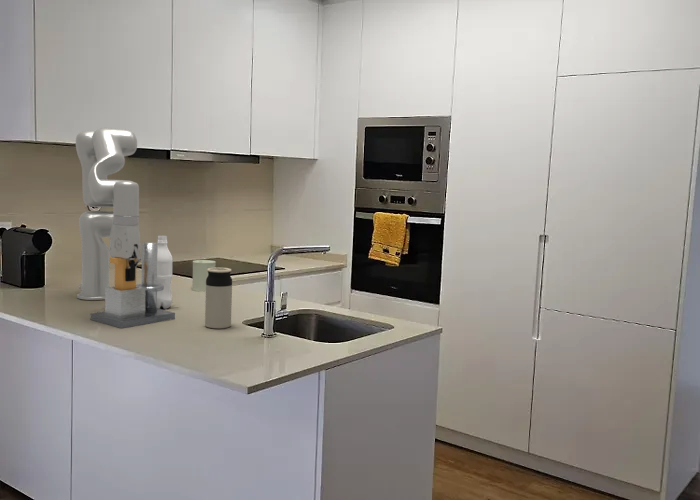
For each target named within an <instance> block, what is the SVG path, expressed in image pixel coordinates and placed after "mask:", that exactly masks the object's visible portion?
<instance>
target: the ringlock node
mask: <svg viewBox="0 0 700 500" xmlns="http://www.w3.org/2000/svg"><path fill="white" fill-rule="evenodd" d="M157 253H158V243H157V242H151V241H150V242H146V241H145V242H142V243H141V283H136V288H134V289H126V290H119V289H115V285H114V286H109V287H106V288H105V299H104V304H105V305H104V311H98V312H91V313H90V321H94V322H97V323H100V322H101V323H100V324H104V325H108V326H112V327H115V328H118V327H119V329H125V328H131V327H137V326H141V325H142V326H143V325H148V323H149V324H153V322H154V323H158V322H159V321H160V322H164V321H171V320H175V319H176V312H175V311H174V312H173V311H170V310H166V309H161V308H159V309H157V291H162V290H164V285H162V284H157ZM170 319H171V320H170Z"/></svg>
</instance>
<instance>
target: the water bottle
mask: <svg viewBox="0 0 700 500" xmlns="http://www.w3.org/2000/svg"><path fill="white" fill-rule="evenodd" d="M156 243H158V253H157V284H162V285H164V290H162V291H157V309H161V307H162V308H163V310H166V309H168V308H170V307H171V306H172V303H173V296H172V288H171V287H172V286H171V285H172V278H173V256H172V253H171V251H170V250H169V247H168V243H169V242H168V236H167V235H157V242H156Z"/></svg>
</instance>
